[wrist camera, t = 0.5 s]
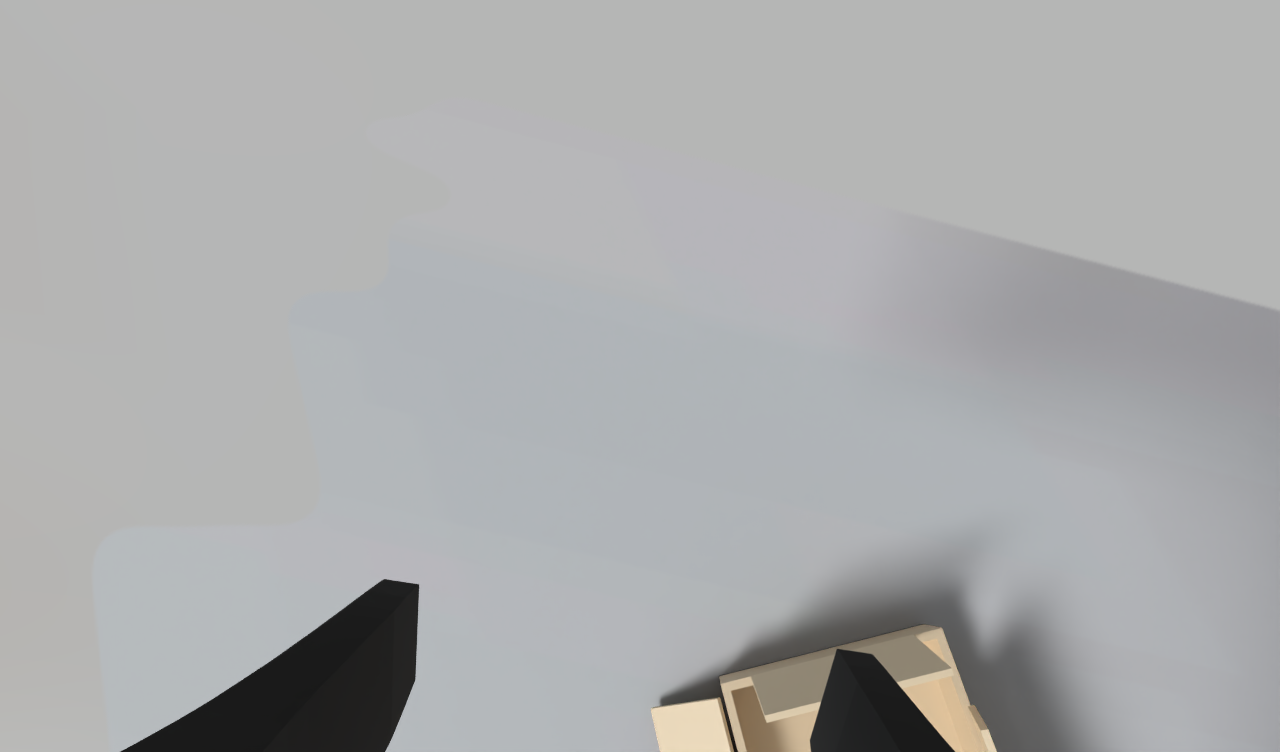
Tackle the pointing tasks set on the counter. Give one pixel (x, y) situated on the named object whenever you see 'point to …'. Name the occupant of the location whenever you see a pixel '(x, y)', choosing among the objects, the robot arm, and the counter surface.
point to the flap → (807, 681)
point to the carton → (782, 747)
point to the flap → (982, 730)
